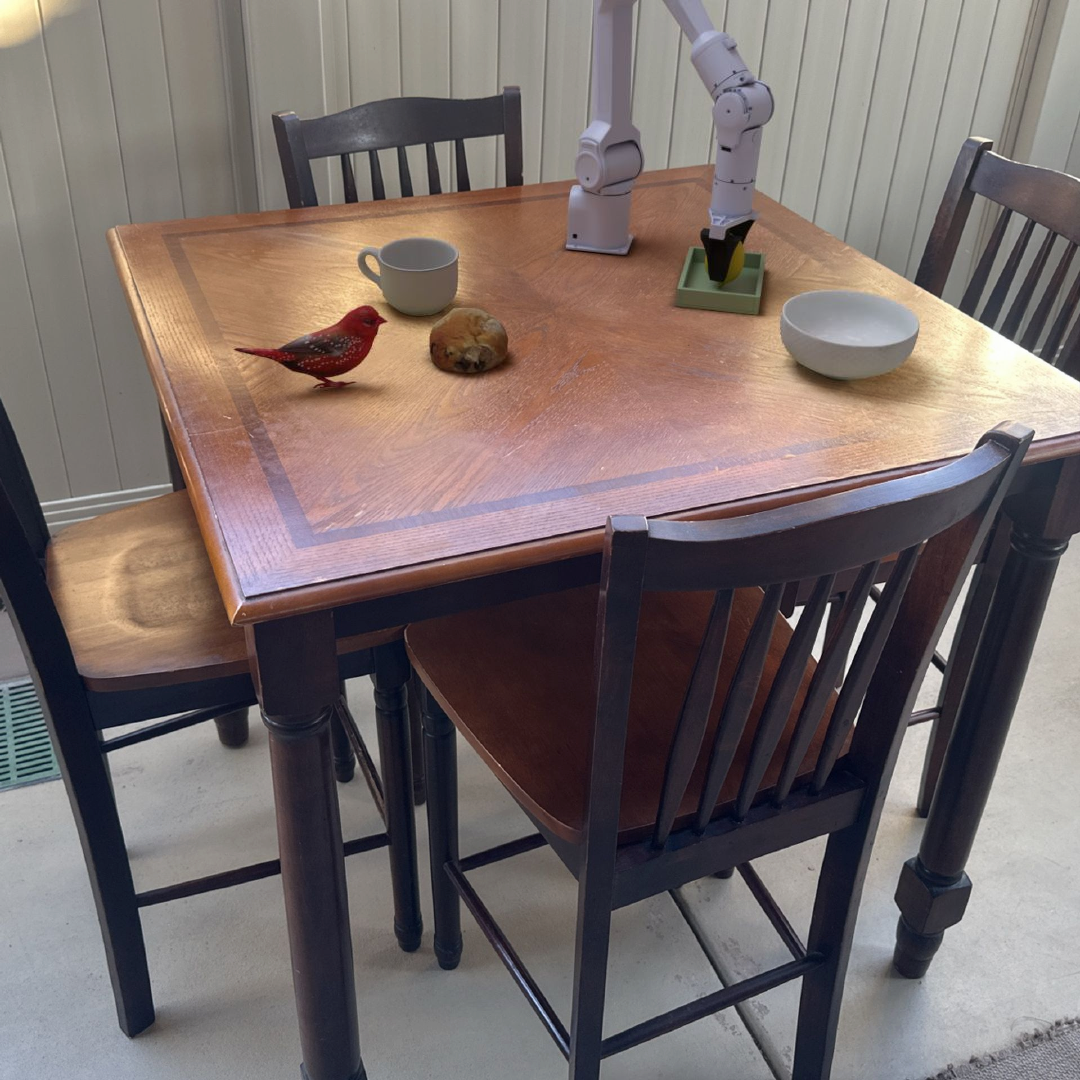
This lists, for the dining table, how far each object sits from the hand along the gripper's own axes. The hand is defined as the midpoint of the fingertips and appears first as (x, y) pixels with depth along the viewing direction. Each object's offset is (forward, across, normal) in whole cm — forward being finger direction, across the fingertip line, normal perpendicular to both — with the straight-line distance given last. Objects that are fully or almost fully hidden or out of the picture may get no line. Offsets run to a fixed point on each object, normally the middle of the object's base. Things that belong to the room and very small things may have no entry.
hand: (722, 272), depth 162 cm
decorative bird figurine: (+3, -52, +36) cm, 63 cm away
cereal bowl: (+3, -19, -20) cm, 28 cm away
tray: (+2, 0, 0) cm, 2 cm away
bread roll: (+3, -37, +23) cm, 43 cm away
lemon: (+2, 0, 0) cm, 2 cm away
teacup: (+3, -25, +38) cm, 45 cm away
